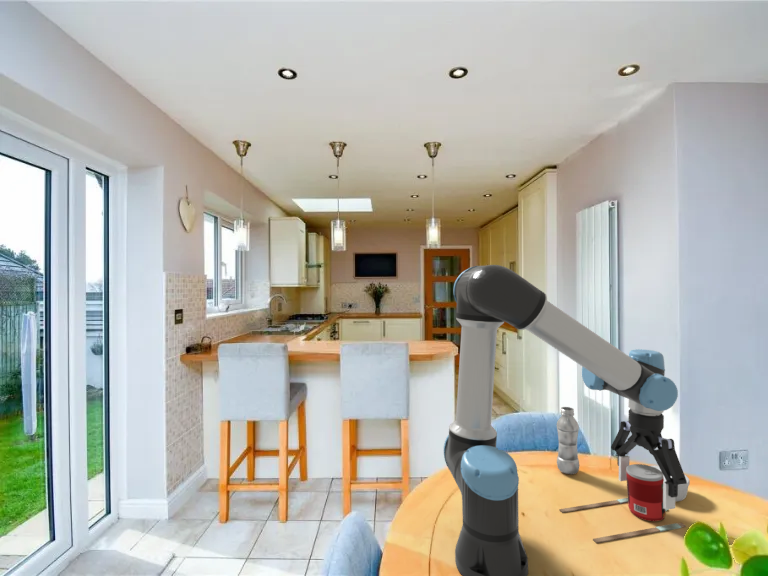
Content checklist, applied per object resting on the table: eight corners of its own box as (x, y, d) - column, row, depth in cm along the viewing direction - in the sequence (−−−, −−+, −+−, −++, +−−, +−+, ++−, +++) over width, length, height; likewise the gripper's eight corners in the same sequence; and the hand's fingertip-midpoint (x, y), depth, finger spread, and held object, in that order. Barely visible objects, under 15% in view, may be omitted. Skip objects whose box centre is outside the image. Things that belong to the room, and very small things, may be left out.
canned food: (671, 523, 97) (669, 479, 97) (635, 521, 99) (633, 478, 99) (656, 504, 105) (654, 464, 105) (623, 503, 106) (621, 463, 106)
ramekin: (644, 498, 109) (644, 479, 109) (638, 479, 119) (638, 462, 119) (694, 508, 104) (694, 488, 104) (684, 487, 114) (684, 469, 114)
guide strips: (596, 543, 91) (596, 542, 91) (559, 510, 104) (559, 508, 104) (693, 525, 97) (692, 524, 97) (645, 496, 110) (645, 494, 110)
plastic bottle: (553, 472, 125) (552, 409, 124) (562, 464, 129) (561, 404, 129) (574, 479, 120) (573, 413, 119) (583, 471, 124) (582, 408, 124)
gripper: (706, 427, 90) (705, 520, 90) (619, 396, 114) (619, 468, 115) (679, 430, 88) (678, 524, 89) (597, 397, 113) (596, 471, 113)
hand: (645, 493), depth 102 cm, fingers open, 13 cm apart
